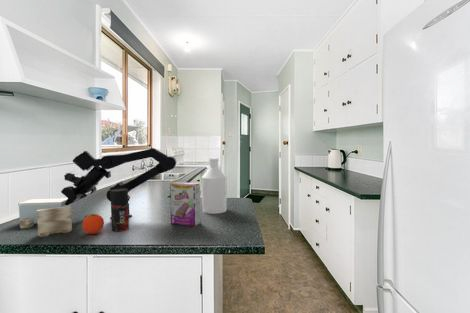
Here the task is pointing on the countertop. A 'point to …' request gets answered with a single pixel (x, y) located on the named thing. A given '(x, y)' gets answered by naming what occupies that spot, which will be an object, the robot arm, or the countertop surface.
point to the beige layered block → (54, 220)
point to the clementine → (92, 223)
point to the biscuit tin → (38, 207)
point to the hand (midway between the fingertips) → (66, 204)
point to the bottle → (214, 189)
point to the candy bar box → (185, 203)
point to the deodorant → (119, 210)
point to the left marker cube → (27, 223)
